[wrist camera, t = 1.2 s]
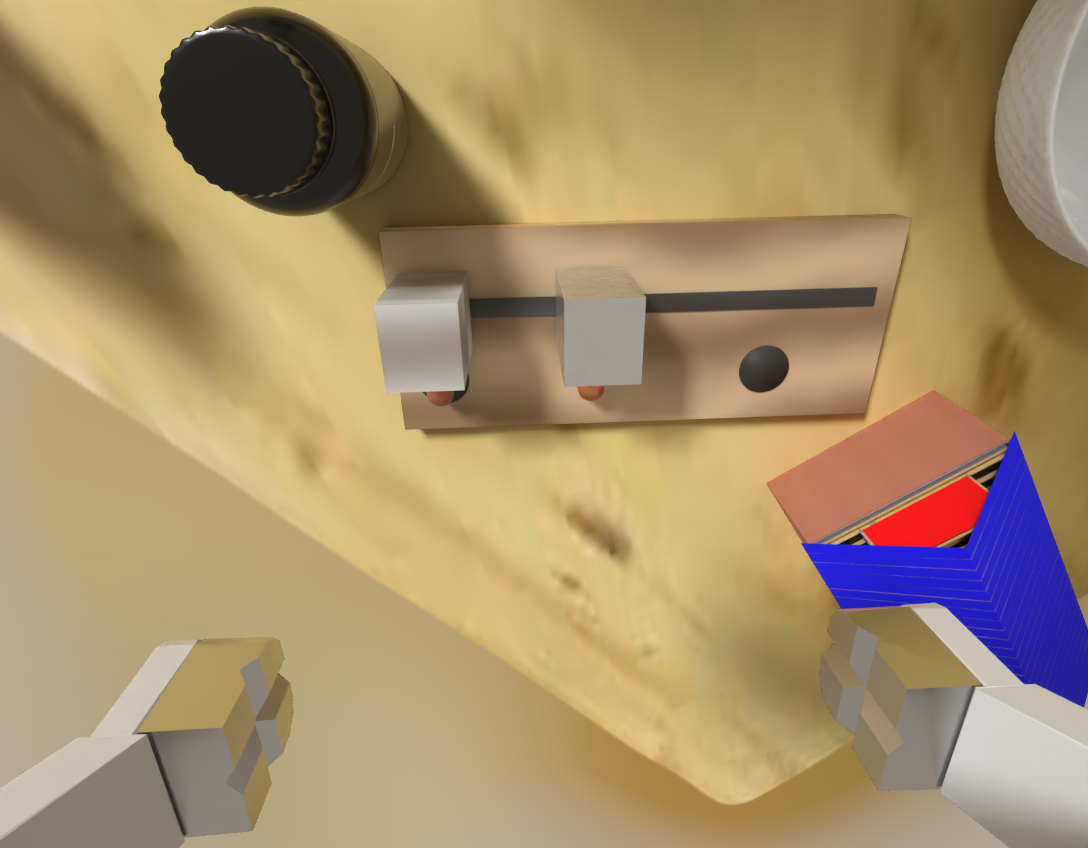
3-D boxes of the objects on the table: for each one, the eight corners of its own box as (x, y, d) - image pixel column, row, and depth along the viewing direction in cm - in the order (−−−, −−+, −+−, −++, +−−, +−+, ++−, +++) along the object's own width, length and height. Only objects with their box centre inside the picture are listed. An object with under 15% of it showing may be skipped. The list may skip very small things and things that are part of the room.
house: (934, 381, 37) (1098, 482, 27) (1020, 586, 45) (1173, 725, 35) (758, 480, 40) (845, 607, 30) (868, 657, 48) (967, 807, 37)
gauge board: (384, 227, 32) (347, 257, 25) (894, 214, 33) (999, 239, 26) (409, 418, 37) (384, 488, 30) (852, 402, 37) (930, 466, 30)
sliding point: (555, 269, 31) (564, 299, 26) (623, 267, 31) (646, 297, 26) (556, 389, 34) (564, 439, 29) (618, 387, 34) (638, 436, 29)
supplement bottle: (424, 186, 31) (376, 221, 20) (290, 204, 31) (172, 248, 20) (392, 26, 28) (316, -33, 17) (245, 47, 28) (77, 0, 17)
